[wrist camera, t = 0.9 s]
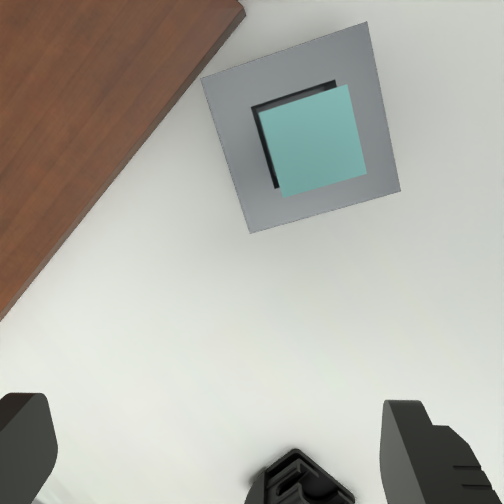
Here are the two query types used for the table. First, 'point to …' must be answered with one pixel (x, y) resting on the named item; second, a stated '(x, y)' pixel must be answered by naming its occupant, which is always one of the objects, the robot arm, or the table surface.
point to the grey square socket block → (289, 90)
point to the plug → (314, 141)
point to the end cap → (297, 484)
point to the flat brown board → (85, 107)
